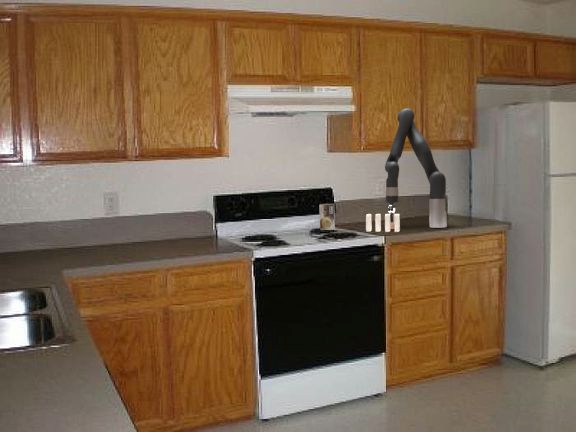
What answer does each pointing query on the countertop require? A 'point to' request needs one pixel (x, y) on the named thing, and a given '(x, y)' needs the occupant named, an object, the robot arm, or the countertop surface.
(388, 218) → the domino
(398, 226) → the domino
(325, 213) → the coffee box
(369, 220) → the domino
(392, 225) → the domino
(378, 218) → the domino
